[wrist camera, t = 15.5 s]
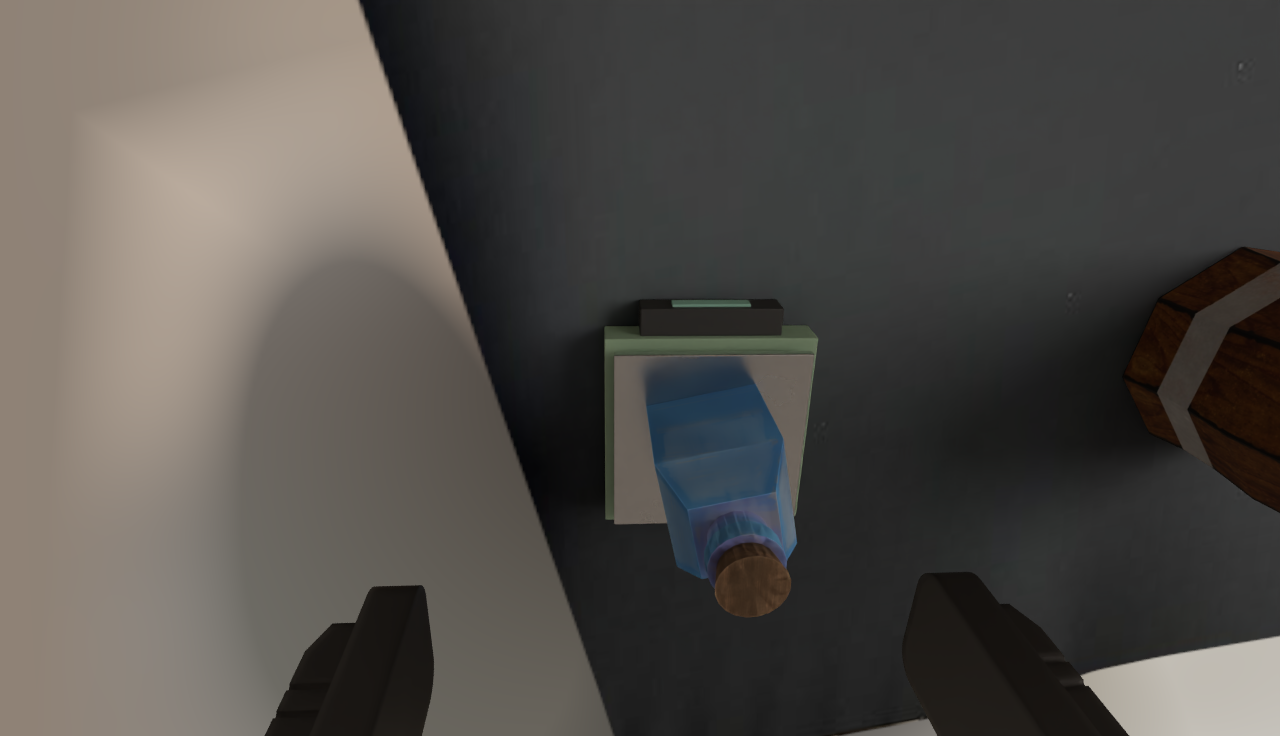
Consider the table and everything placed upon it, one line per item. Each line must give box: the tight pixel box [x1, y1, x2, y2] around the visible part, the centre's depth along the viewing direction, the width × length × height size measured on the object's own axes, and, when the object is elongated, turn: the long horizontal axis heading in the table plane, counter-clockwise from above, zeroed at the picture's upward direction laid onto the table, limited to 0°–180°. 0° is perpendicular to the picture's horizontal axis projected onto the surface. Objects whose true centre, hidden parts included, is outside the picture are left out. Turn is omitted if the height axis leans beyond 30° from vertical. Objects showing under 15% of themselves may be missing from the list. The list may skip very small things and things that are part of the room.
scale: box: [604, 299, 818, 520], centre depth 40 cm, size 12×14×2 cm
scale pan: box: [614, 351, 814, 524], centre depth 39 cm, size 11×11×1 cm
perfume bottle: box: [646, 384, 797, 617], centre depth 33 cm, size 6×6×12 cm
